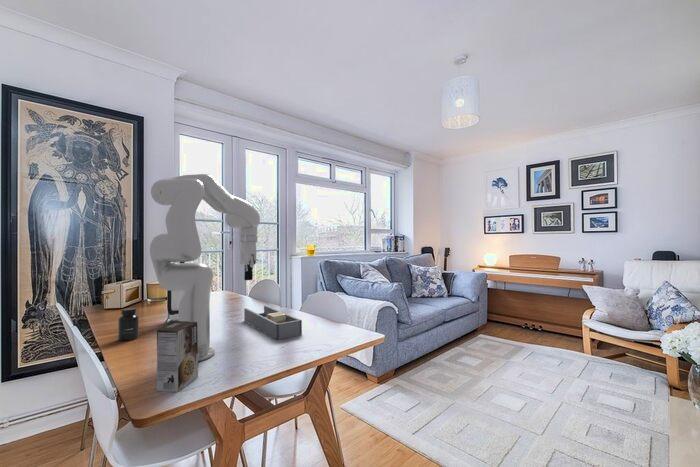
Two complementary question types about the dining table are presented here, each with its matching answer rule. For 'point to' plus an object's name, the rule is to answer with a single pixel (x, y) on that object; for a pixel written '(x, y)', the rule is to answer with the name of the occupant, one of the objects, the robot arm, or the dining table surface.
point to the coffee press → (173, 304)
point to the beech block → (277, 317)
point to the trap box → (274, 323)
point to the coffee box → (177, 356)
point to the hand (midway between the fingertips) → (248, 279)
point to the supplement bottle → (128, 325)
